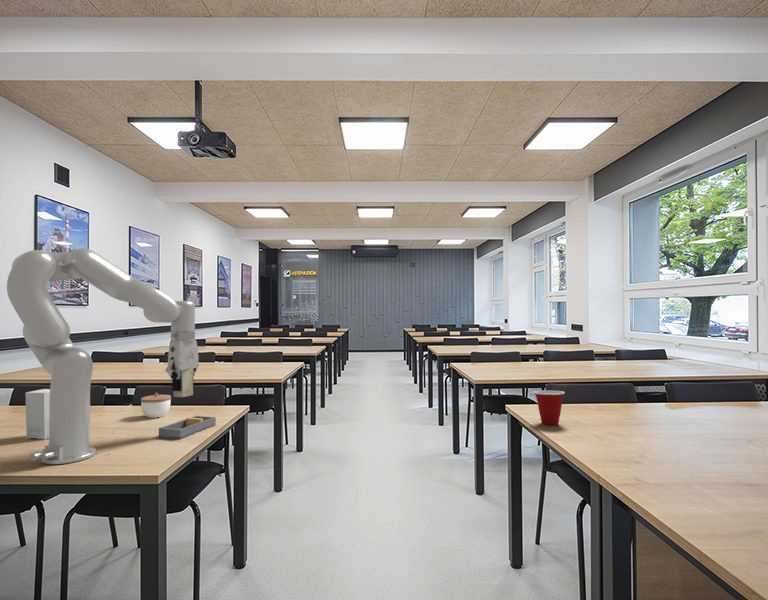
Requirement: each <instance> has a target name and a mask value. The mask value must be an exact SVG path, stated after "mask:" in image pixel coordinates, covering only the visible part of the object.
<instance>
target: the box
mask: <svg viewBox="0 0 768 600" xmlns="http://www.w3.org/2000/svg"><path fill="white" fill-rule="evenodd" d="M176 370H178V369H176ZM176 374H177V372H176ZM180 379H181V391H173V397H175V398H185V397H190V396H193V395H194V376H193V368H191V369H188V370H181V375H180Z"/></svg>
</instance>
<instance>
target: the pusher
mask: <svg viewBox="0 0 768 600" xmlns="http://www.w3.org/2000/svg"><path fill="white" fill-rule="evenodd" d="M185 419H186V427H188V426H190V425H193V424H196V423H199V422H201V421H203V419H202V418H191V417H186V418H185Z"/></svg>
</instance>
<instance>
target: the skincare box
mask: <svg viewBox="0 0 768 600" xmlns="http://www.w3.org/2000/svg"><path fill="white" fill-rule="evenodd" d="M24 395H25V426H26V429H25V431H26V438H27V437H28V438H27V439H30V438H37V439H36V440H48V439H49V410H50V405H49V400H50V388H42V389H36V390H32V391H28V392H27V391H26V392H25V394H24ZM47 438H48V439H47Z"/></svg>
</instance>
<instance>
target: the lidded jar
mask: <svg viewBox="0 0 768 600" xmlns="http://www.w3.org/2000/svg"><path fill="white" fill-rule="evenodd" d="M171 400H172V395H170V394H159V393H158V392H155V393H154V394H153V395H147V396H143V397H141V398H140V402H141V407H140V408H141V412H142V413H143V414H144V415H145V417H148V418H147V419H158V418H157V417H160V418H163V417H165V416H164V415H167V414H168V412H169V410H170V409H171V408H170V407H171V402H172V401H171ZM162 416H163V417H162Z"/></svg>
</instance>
